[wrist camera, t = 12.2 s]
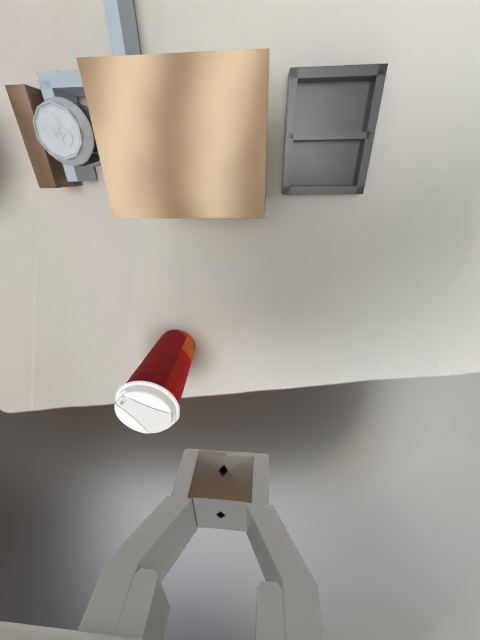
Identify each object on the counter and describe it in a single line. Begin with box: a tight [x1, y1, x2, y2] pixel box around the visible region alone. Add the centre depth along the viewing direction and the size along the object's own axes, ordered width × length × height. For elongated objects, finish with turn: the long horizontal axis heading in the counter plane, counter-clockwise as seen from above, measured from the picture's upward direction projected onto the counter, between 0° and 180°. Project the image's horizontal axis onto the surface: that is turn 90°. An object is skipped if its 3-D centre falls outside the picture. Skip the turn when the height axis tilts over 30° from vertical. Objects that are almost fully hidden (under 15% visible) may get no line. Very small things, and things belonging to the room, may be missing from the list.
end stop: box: [5, 84, 82, 188], centre depth 31 cm, size 2×9×5 cm, turn 0°
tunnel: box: [77, 49, 269, 218], centre depth 25 cm, size 12×10×15 cm
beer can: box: [33, 97, 101, 166], centre depth 27 cm, size 5×5×12 cm
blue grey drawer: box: [36, 0, 141, 181], centre depth 28 cm, size 9×16×4 cm, turn 1°
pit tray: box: [282, 64, 388, 194], centre depth 29 cm, size 9×11×2 cm
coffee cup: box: [115, 330, 195, 433], centre depth 40 cm, size 8×8×15 cm
